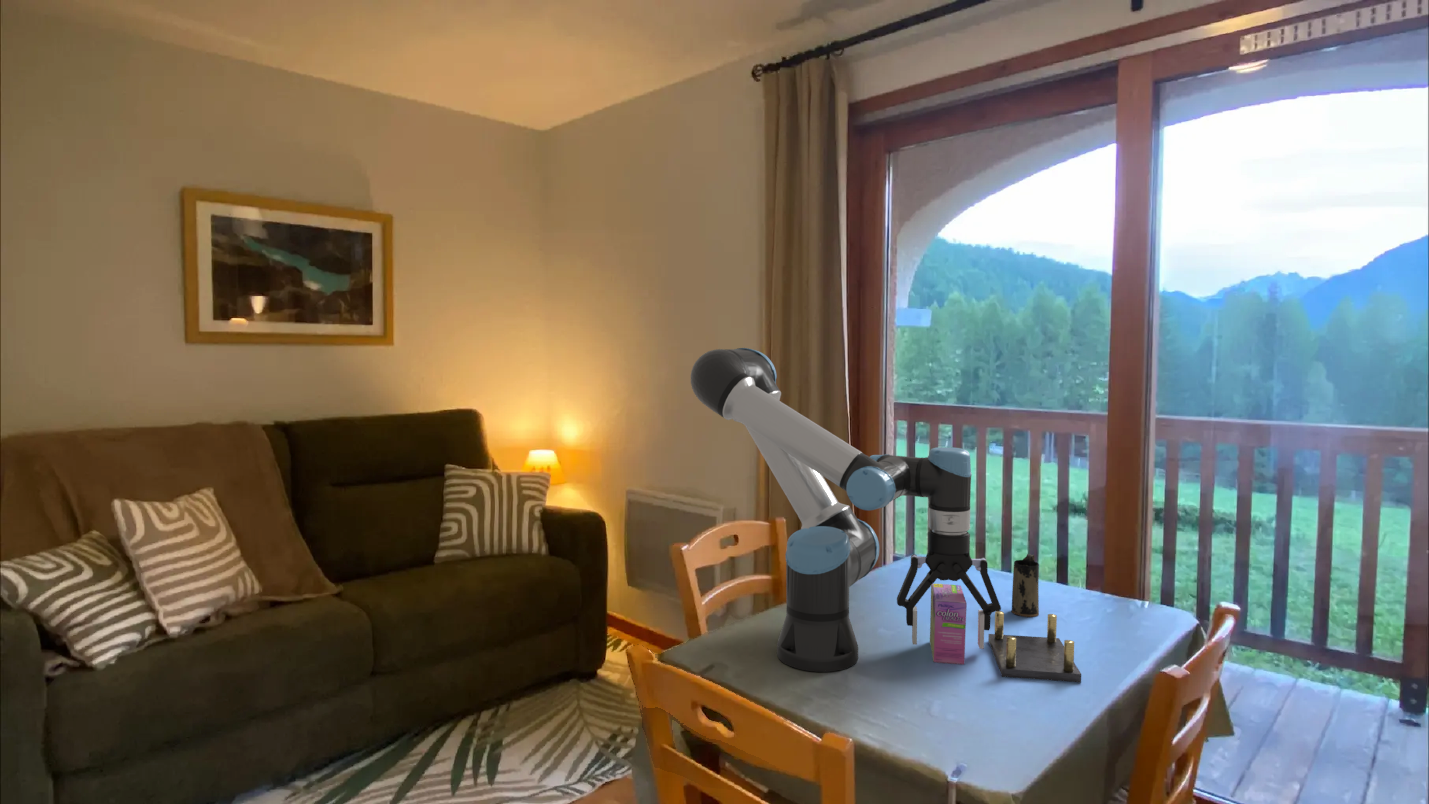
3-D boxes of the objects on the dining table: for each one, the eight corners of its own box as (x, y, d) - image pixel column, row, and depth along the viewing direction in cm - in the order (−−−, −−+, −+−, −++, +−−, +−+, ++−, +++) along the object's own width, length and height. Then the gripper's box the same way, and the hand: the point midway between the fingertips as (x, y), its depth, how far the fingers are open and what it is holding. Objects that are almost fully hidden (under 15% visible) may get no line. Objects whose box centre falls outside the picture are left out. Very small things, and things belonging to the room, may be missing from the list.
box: (965, 665, 146) (966, 601, 145) (933, 662, 147) (934, 599, 146) (959, 643, 156) (961, 584, 155) (929, 641, 157) (930, 583, 156)
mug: (1035, 619, 169) (1037, 563, 168) (1008, 614, 172) (1009, 559, 171) (1043, 608, 176) (1044, 555, 175) (1017, 604, 179) (1018, 551, 178)
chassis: (1001, 676, 140) (1002, 640, 140) (988, 641, 157) (989, 608, 157) (1081, 682, 138) (1082, 645, 137) (1058, 645, 154) (1059, 612, 154)
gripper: (884, 532, 148) (883, 647, 150) (1019, 537, 144) (1017, 655, 145) (883, 523, 156) (882, 632, 157) (1012, 528, 151) (1010, 640, 153)
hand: (947, 644), depth 151 cm, fingers open, 11 cm apart
